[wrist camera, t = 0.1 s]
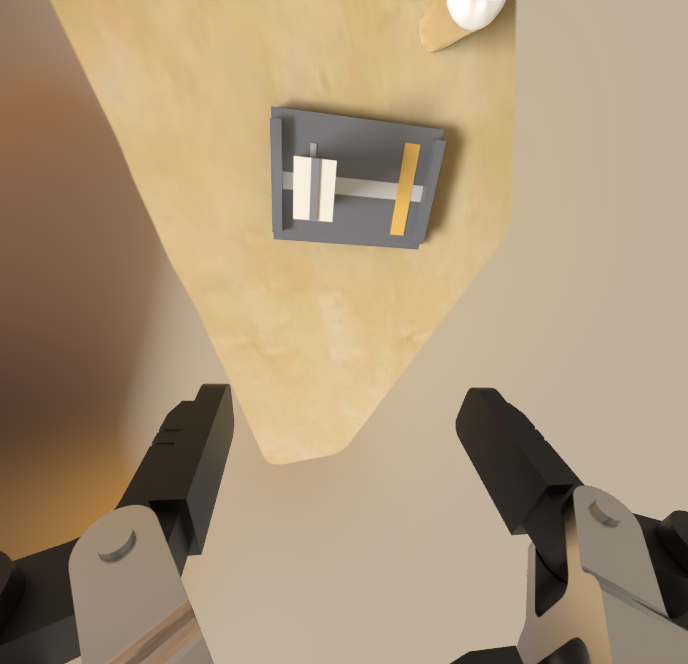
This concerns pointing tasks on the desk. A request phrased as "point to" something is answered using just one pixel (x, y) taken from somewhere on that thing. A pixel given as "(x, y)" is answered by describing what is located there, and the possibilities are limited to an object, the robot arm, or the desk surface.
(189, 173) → the desk surface
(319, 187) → the fader knob
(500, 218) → the desk surface
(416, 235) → the fader console
